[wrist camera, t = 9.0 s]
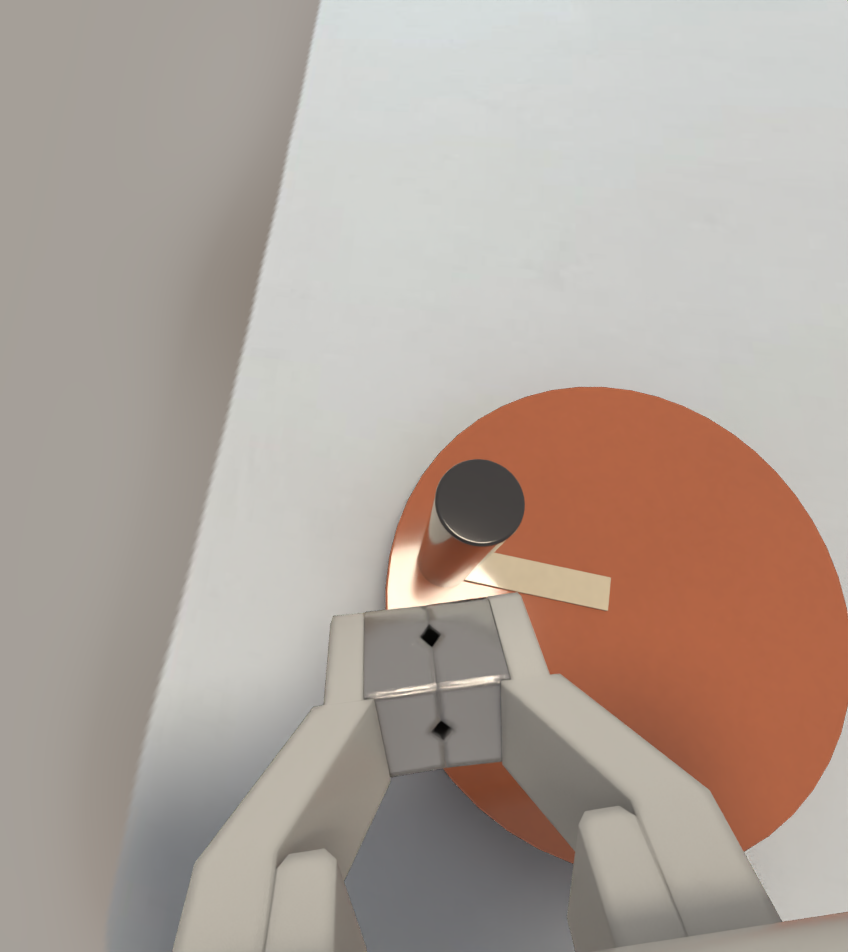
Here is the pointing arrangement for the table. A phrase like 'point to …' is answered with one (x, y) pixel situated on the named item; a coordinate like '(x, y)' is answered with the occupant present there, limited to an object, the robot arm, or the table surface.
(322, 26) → the table surface
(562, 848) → the orange turntable with peg
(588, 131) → the table surface
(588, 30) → the table surface
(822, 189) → the table surface
